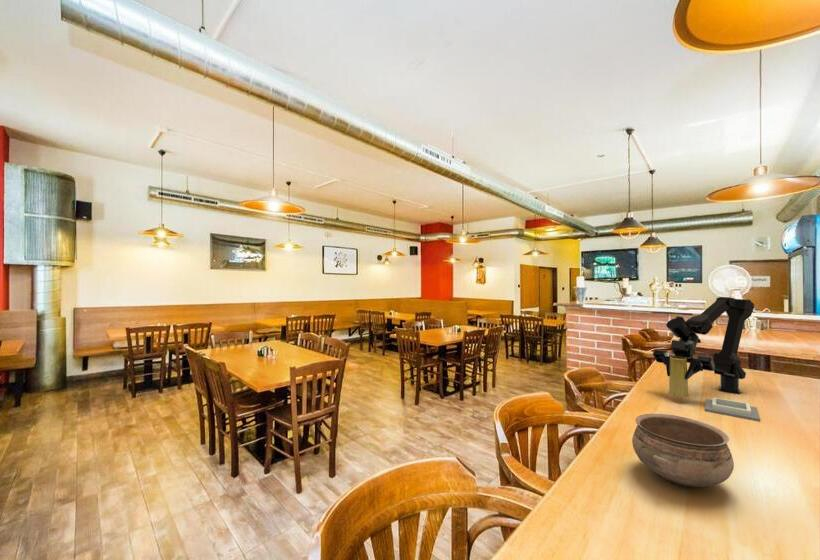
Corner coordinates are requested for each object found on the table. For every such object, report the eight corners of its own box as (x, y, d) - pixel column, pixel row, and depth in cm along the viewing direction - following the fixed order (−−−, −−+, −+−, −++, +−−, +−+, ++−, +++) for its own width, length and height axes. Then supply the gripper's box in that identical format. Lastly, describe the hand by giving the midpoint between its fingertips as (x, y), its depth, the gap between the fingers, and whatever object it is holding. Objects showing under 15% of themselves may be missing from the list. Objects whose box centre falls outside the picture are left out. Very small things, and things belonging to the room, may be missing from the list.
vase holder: (706, 400, 135) (706, 394, 135) (756, 409, 126) (756, 403, 126) (704, 411, 125) (704, 404, 125) (760, 421, 115) (760, 414, 115)
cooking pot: (654, 448, 98) (654, 404, 98) (747, 479, 82) (746, 428, 82) (612, 478, 83) (612, 427, 83) (715, 523, 68) (715, 460, 68)
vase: (681, 391, 137) (681, 355, 137) (692, 397, 131) (692, 359, 131) (665, 391, 138) (664, 355, 138) (675, 396, 132) (675, 359, 132)
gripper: (654, 329, 144) (643, 360, 138) (712, 335, 129) (702, 370, 123) (662, 346, 149) (651, 376, 143) (718, 353, 134) (709, 388, 127)
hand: (676, 377), depth 134 cm, fingers closed on vase, 5 cm apart
